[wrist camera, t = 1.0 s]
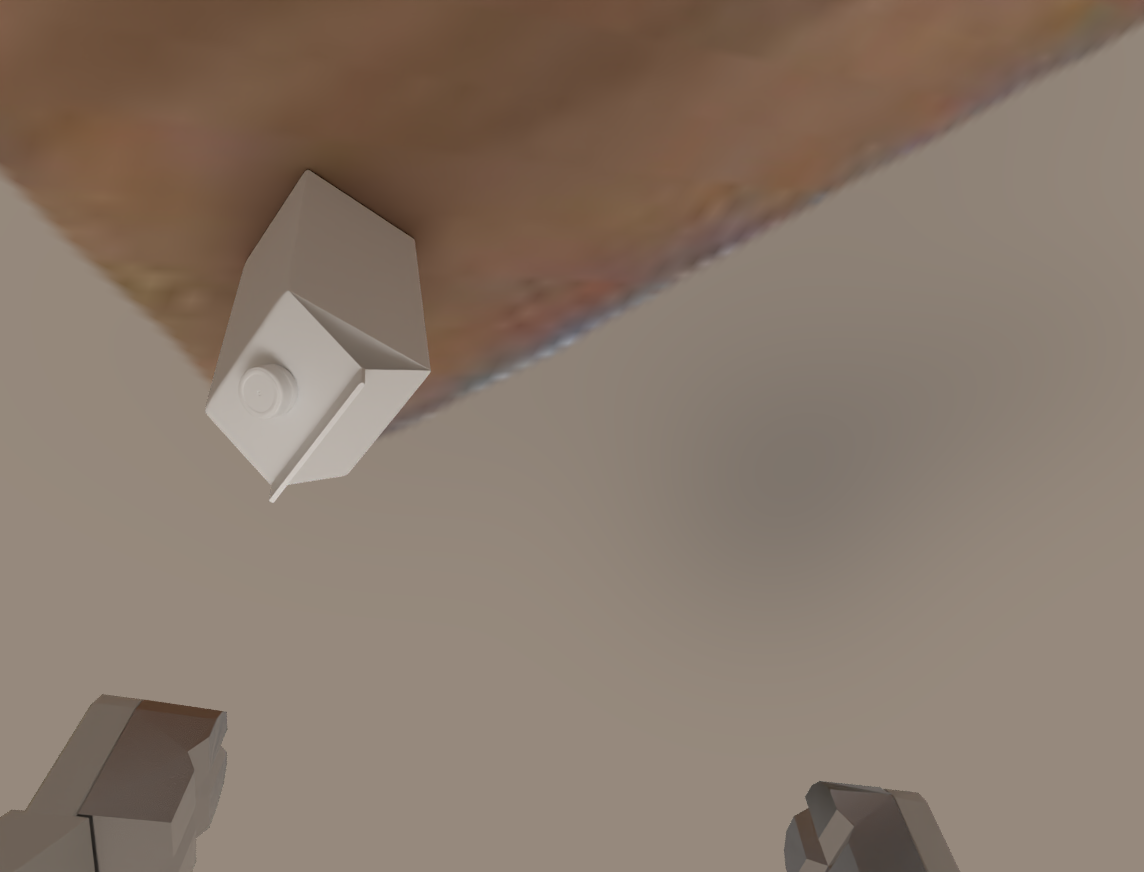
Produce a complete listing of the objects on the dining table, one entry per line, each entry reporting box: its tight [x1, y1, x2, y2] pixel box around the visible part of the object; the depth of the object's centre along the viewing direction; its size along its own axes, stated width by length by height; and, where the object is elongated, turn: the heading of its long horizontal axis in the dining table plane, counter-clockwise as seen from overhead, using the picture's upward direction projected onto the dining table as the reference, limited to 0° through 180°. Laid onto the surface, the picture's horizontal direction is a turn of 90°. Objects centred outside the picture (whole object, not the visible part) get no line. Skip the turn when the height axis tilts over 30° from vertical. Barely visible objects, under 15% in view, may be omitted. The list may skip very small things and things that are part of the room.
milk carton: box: [205, 170, 431, 503], centre depth 40 cm, size 7×7×19 cm
